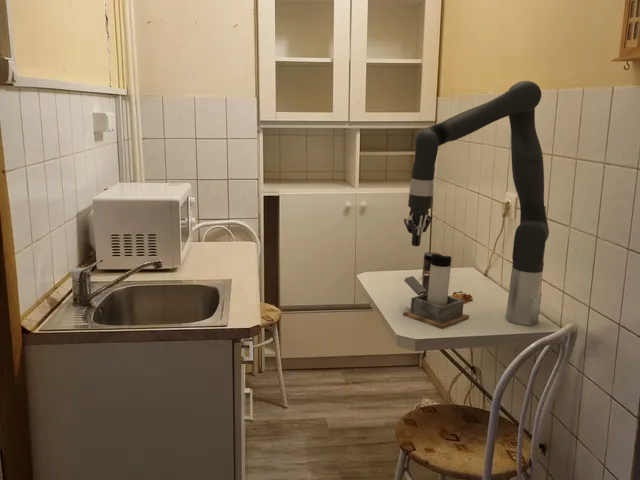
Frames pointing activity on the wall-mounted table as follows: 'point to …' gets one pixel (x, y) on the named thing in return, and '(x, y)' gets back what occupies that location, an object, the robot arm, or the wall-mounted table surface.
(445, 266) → the travel mug
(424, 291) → the grey rectangular block
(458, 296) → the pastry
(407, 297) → the wall-mounted table surface
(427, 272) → the box
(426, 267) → the supplement container
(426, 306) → the grey walled square tray
